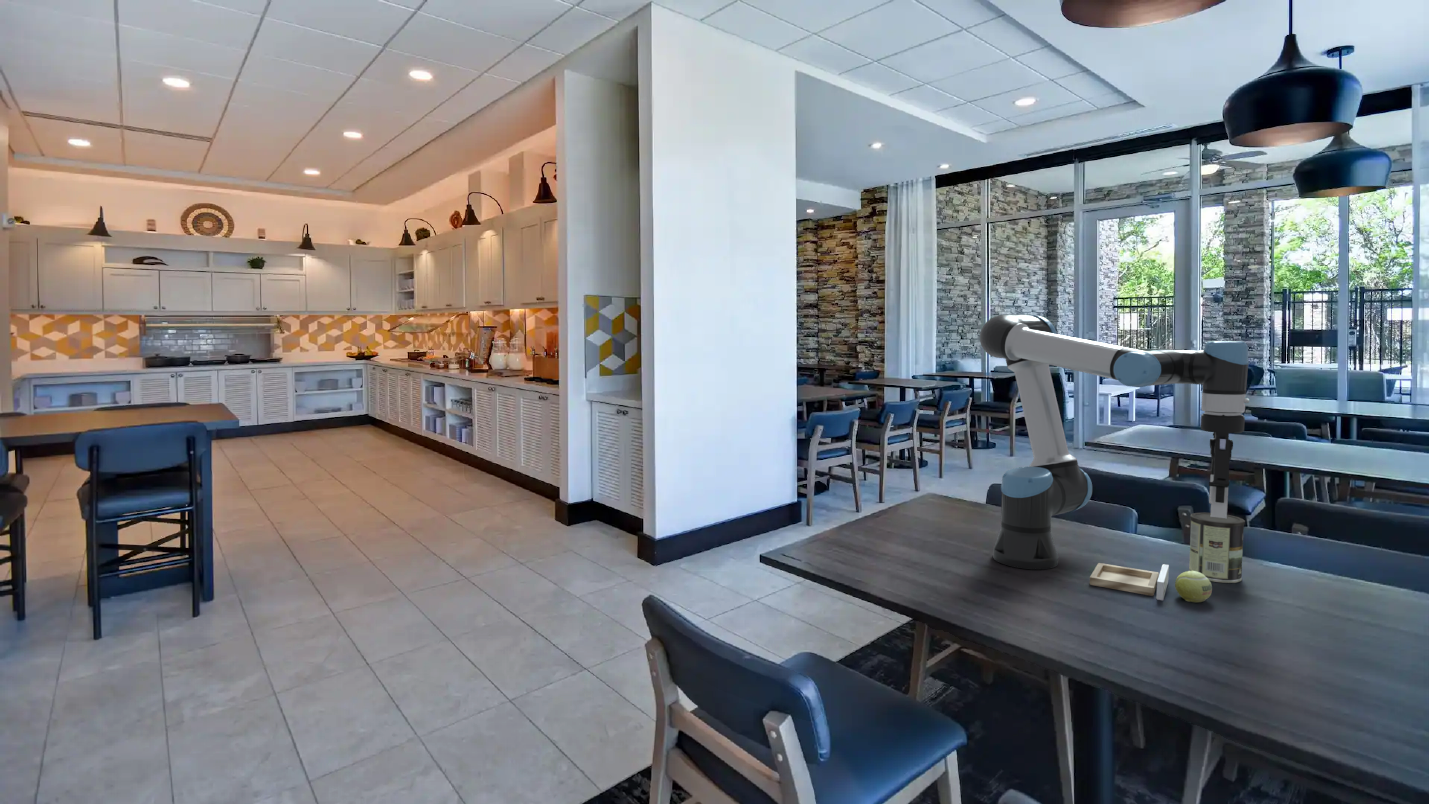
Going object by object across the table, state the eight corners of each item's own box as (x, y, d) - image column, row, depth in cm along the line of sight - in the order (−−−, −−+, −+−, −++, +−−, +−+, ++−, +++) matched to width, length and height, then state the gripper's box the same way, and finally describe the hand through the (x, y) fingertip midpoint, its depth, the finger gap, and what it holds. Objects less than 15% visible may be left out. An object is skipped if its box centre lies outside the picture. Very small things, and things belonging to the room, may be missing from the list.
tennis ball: (1201, 576, 143) (1215, 569, 146) (1166, 572, 148) (1181, 565, 152) (1205, 606, 142) (1219, 599, 146) (1170, 601, 148) (1185, 594, 152)
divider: (1156, 599, 148) (1157, 581, 147) (1162, 580, 159) (1162, 564, 158) (1163, 600, 147) (1163, 582, 146) (1168, 581, 158) (1168, 565, 158)
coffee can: (1227, 569, 165) (1230, 512, 164) (1251, 584, 155) (1254, 524, 154) (1179, 567, 168) (1182, 511, 166) (1200, 582, 157) (1203, 522, 156)
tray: (1089, 584, 157) (1089, 577, 157) (1098, 570, 167) (1098, 562, 167) (1153, 596, 149) (1153, 588, 149) (1158, 580, 159) (1158, 572, 159)
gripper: (1249, 420, 134) (1242, 525, 136) (1241, 408, 154) (1236, 500, 156) (1202, 418, 138) (1196, 520, 140) (1200, 407, 159) (1196, 496, 161)
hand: (1217, 510), depth 148 cm, fingers open, 13 cm apart
